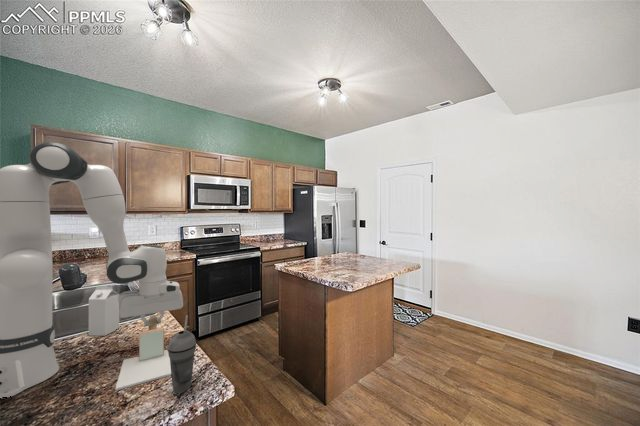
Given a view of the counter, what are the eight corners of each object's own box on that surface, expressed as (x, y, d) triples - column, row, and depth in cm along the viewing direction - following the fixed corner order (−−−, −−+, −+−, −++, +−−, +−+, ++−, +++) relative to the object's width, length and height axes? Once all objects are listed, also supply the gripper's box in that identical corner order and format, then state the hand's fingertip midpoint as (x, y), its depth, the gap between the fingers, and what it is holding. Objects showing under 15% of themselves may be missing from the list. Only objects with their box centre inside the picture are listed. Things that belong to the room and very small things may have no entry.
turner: (141, 342, 87) (141, 333, 87) (144, 324, 101) (144, 316, 102) (162, 337, 90) (162, 329, 90) (162, 321, 105) (162, 313, 105)
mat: (115, 390, 72) (115, 388, 72) (123, 361, 86) (123, 359, 86) (173, 374, 79) (173, 372, 79) (172, 350, 94) (171, 348, 94)
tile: (139, 361, 85) (139, 334, 85) (139, 358, 87) (139, 332, 87) (163, 355, 89) (163, 329, 89) (163, 353, 90) (163, 327, 90)
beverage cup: (169, 382, 75) (169, 313, 76) (197, 376, 78) (197, 310, 78) (164, 398, 68) (164, 323, 69) (195, 392, 71) (195, 318, 71)
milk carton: (103, 328, 112) (103, 284, 113) (119, 328, 112) (119, 284, 112) (88, 336, 105) (88, 289, 105) (105, 336, 105) (105, 289, 105)
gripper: (117, 294, 90) (116, 334, 89) (183, 285, 100) (183, 321, 100) (119, 289, 95) (119, 327, 95) (182, 282, 106) (182, 316, 105)
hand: (152, 324), depth 97 cm, fingers closed on turner, 2 cm apart
